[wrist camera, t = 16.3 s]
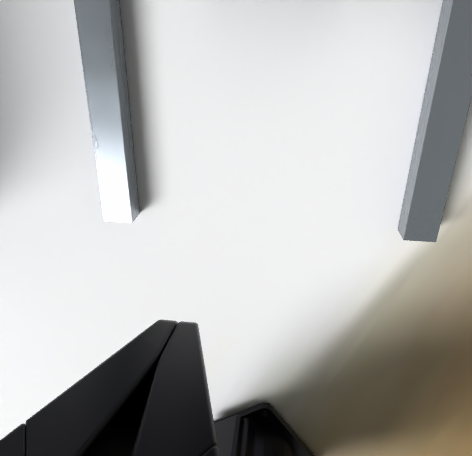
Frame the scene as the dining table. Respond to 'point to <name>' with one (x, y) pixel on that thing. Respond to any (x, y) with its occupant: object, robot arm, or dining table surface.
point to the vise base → (426, 144)
